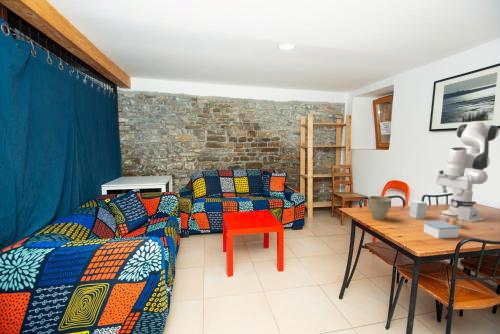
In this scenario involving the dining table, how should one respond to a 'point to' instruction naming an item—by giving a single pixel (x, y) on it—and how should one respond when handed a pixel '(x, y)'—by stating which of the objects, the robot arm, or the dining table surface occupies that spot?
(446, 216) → the teacup with lid
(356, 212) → the dining table surface
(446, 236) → the tub
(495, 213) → the dining table surface
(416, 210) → the supplement box
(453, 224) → the lid
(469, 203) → the robot arm
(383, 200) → the plant pot
